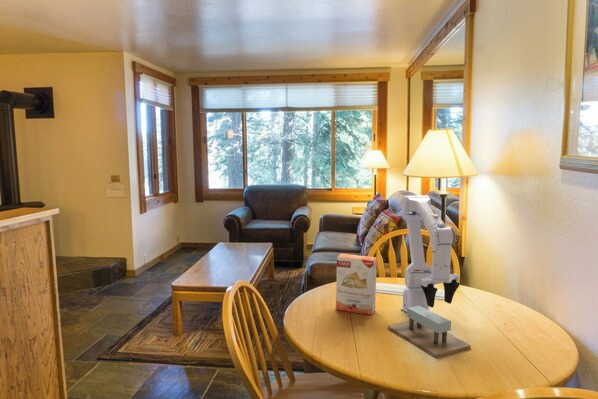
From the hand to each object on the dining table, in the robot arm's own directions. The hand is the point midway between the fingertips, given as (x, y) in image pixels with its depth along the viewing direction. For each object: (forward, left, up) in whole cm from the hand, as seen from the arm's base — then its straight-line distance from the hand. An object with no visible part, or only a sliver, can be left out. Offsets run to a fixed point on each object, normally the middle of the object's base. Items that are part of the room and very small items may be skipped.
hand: (439, 304), depth 131 cm
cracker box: (-28, -14, -10) cm, 33 cm away
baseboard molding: (-34, +18, -11) cm, 40 cm away
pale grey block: (+1, -6, -5) cm, 8 cm away
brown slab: (+1, -6, -10) cm, 11 cm away
